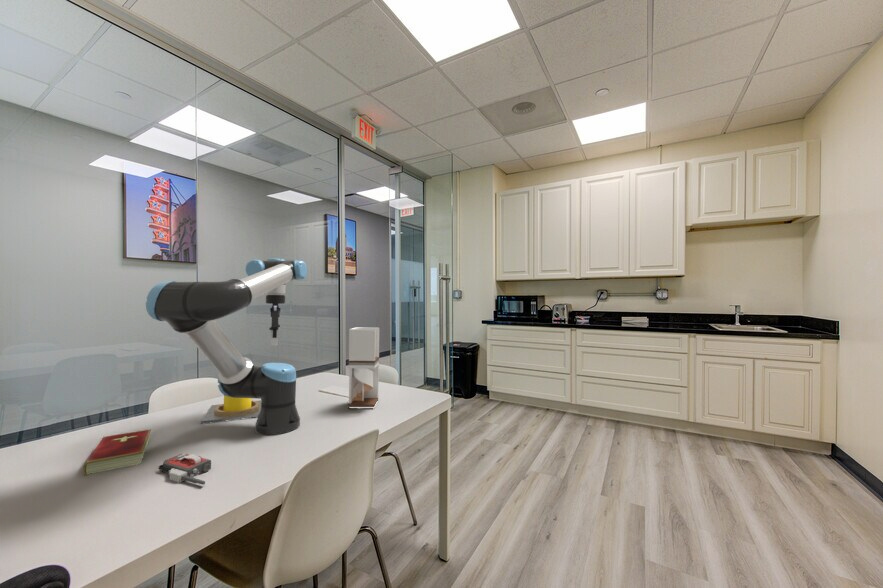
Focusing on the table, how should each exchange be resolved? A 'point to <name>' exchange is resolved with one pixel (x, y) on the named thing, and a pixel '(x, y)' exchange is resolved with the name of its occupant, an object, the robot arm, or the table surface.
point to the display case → (363, 366)
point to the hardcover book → (118, 451)
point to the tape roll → (236, 403)
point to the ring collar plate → (231, 413)
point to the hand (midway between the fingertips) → (274, 343)
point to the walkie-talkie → (186, 467)
